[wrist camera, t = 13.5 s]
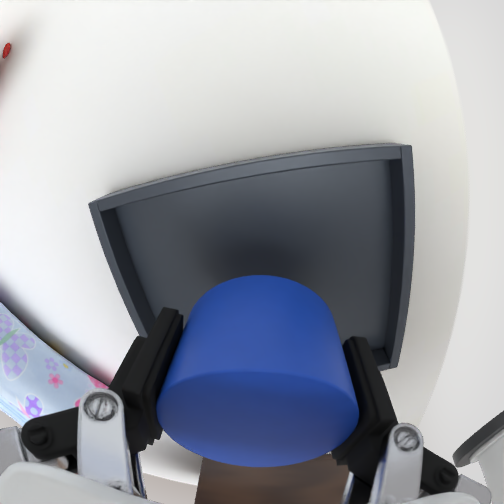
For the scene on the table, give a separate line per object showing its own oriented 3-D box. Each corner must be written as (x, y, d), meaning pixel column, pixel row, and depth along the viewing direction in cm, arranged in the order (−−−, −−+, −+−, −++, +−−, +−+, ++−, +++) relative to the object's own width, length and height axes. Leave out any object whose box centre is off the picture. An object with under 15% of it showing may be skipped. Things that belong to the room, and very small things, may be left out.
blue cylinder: (356, 287, 10) (397, 377, 6) (310, 391, 12) (318, 469, 8) (191, 260, 10) (144, 346, 6) (186, 373, 12) (163, 451, 8)
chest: (361, 452, 24) (370, 507, 16) (323, 485, 29) (326, 527, 22) (205, 444, 23) (193, 507, 16) (202, 477, 28) (194, 522, 21)
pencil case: (162, 403, 21) (132, 494, 12) (132, 428, 24) (106, 497, 15) (-13, 262, 16) (-77, 315, 8) (-12, 315, 19) (-58, 364, 11)
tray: (393, 142, 12) (412, 145, 10) (388, 347, 17) (397, 367, 15) (107, 194, 14) (87, 203, 12) (176, 371, 19) (170, 391, 17)
